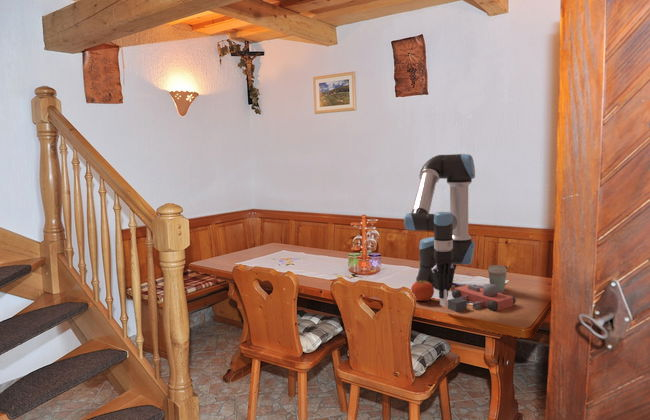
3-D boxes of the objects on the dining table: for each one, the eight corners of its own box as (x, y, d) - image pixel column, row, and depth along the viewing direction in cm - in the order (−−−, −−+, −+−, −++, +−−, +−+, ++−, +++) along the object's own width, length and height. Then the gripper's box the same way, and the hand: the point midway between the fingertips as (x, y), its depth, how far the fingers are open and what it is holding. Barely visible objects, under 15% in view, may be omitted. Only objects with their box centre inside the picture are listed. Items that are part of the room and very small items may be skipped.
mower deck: (451, 297, 218) (451, 280, 217) (471, 292, 224) (472, 275, 223) (495, 311, 197) (495, 293, 196) (515, 305, 204) (516, 287, 203)
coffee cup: (508, 294, 218) (508, 269, 217) (489, 294, 220) (489, 269, 219) (505, 289, 227) (505, 264, 225) (486, 288, 228) (486, 264, 227)
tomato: (414, 296, 222) (414, 275, 221) (436, 298, 217) (436, 277, 216) (408, 302, 213) (407, 281, 212) (430, 305, 208) (430, 283, 207)
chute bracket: (456, 303, 209) (456, 297, 209) (466, 300, 213) (466, 295, 212) (474, 309, 201) (474, 303, 201) (484, 306, 204) (484, 300, 204)
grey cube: (447, 308, 204) (447, 299, 203) (458, 306, 206) (458, 297, 206) (455, 312, 199) (455, 303, 199) (466, 309, 202) (466, 300, 201)
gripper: (438, 253, 188) (438, 310, 191) (461, 249, 195) (461, 304, 198) (425, 250, 195) (425, 306, 198) (448, 246, 202) (448, 300, 204)
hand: (443, 305), depth 198 cm, fingers closed
